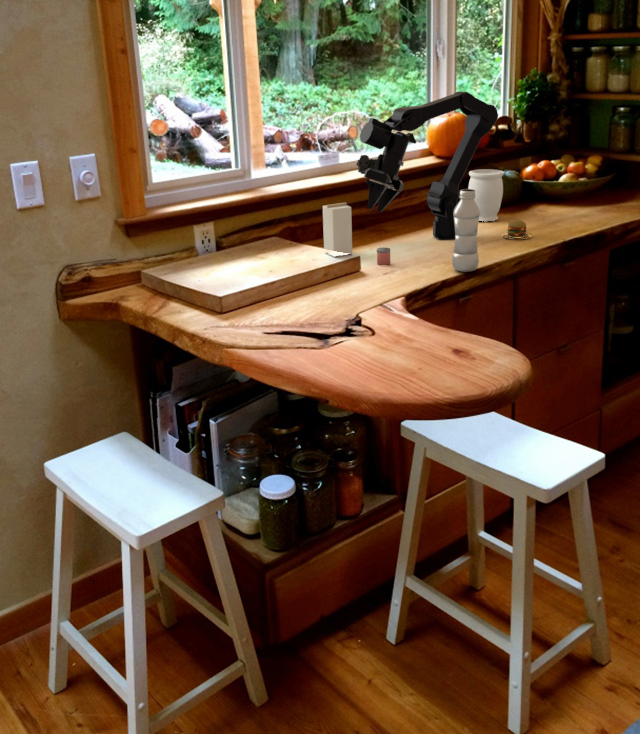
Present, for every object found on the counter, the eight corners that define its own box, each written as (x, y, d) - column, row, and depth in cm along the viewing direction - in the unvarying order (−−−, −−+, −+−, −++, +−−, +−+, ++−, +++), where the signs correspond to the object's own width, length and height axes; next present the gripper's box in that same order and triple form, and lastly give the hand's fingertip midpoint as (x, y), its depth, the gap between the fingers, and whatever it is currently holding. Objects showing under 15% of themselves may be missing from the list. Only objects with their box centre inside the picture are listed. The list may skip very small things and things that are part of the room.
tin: (388, 262, 215) (388, 247, 213) (391, 265, 211) (391, 250, 210) (375, 262, 214) (375, 248, 213) (378, 266, 211) (378, 251, 210)
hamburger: (504, 245, 229) (505, 226, 227) (489, 236, 240) (489, 217, 238) (545, 242, 231) (546, 223, 229) (527, 233, 242) (529, 214, 240)
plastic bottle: (462, 276, 200) (465, 193, 192) (446, 269, 206) (448, 189, 198) (483, 272, 203) (487, 190, 195) (467, 266, 208) (469, 186, 201)
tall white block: (342, 250, 228) (341, 200, 223) (352, 254, 223) (351, 204, 218) (324, 252, 226) (322, 203, 221) (333, 257, 221) (332, 206, 215)
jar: (506, 218, 259) (508, 169, 253) (494, 224, 251) (496, 175, 245) (474, 215, 264) (476, 168, 259) (462, 221, 256) (463, 173, 251)
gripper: (376, 151, 233) (358, 204, 236) (356, 140, 215) (337, 197, 218) (411, 163, 229) (393, 216, 233) (394, 152, 212) (375, 210, 215)
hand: (374, 210), depth 225 cm, fingers open, 9 cm apart
